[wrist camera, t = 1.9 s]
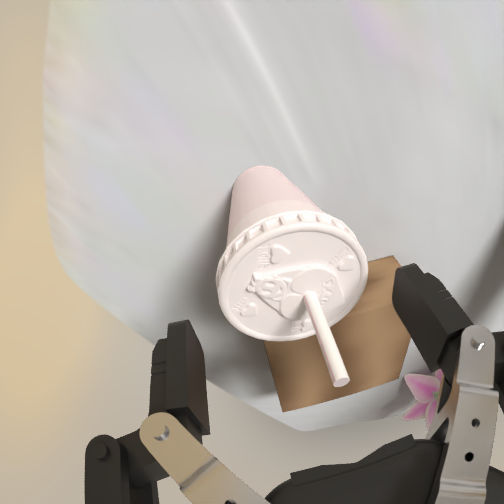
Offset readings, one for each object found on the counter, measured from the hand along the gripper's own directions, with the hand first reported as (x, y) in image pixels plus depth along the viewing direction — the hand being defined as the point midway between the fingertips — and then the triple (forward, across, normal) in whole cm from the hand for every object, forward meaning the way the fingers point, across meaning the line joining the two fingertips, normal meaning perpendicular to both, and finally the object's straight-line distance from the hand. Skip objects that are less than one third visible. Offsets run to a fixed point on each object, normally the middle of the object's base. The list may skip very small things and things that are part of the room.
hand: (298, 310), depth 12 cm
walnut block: (+11, -4, +14) cm, 18 cm away
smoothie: (+11, 0, 0) cm, 11 cm away
